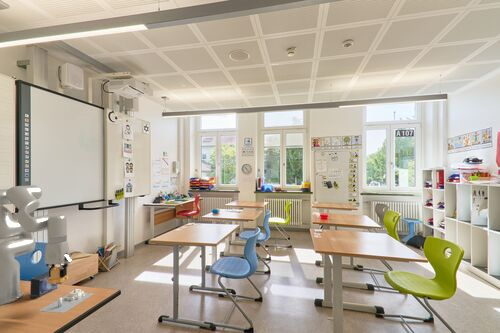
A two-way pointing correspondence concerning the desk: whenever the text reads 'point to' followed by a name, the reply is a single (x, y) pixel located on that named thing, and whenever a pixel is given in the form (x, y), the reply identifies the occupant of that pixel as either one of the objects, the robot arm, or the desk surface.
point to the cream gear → (75, 295)
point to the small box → (41, 285)
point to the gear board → (65, 303)
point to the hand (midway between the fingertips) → (58, 275)
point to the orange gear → (56, 276)
